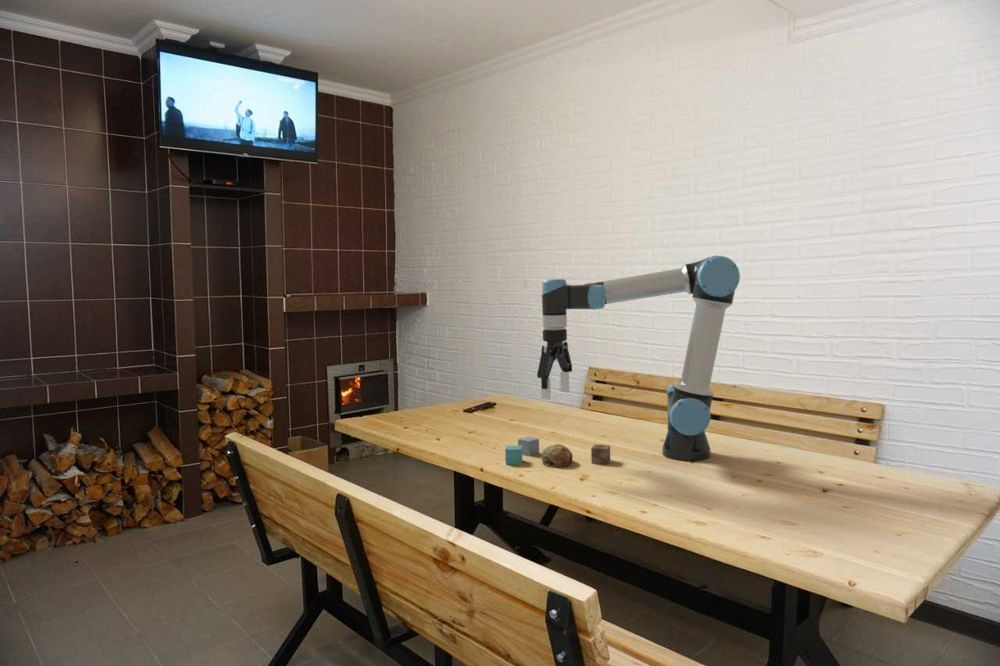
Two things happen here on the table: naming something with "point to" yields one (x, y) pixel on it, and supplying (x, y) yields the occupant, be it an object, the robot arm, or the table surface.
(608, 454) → the walnut block
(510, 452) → the dark teal block
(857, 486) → the table surface
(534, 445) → the slate grey block
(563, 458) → the bread roll
